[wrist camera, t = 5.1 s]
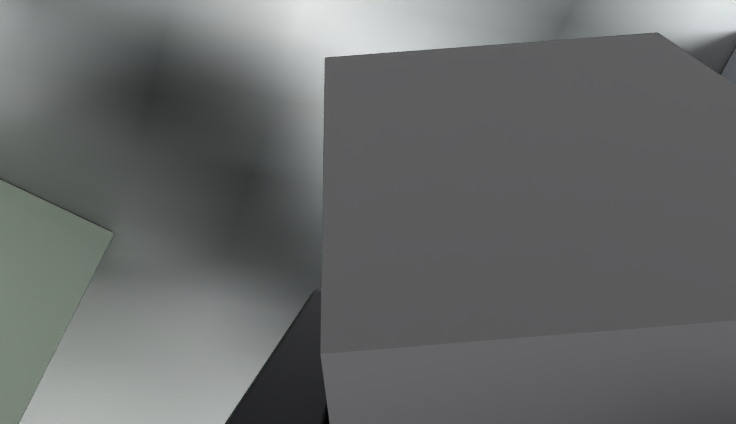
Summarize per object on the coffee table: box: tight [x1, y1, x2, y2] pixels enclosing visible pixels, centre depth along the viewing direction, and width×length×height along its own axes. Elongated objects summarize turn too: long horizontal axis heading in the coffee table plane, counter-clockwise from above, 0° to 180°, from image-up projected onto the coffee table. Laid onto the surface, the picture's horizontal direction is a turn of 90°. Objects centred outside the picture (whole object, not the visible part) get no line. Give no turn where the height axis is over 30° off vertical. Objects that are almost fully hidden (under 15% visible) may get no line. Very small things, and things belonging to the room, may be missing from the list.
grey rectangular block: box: [320, 33, 736, 424], centre depth 7 cm, size 6×4×5 cm, turn 3°
